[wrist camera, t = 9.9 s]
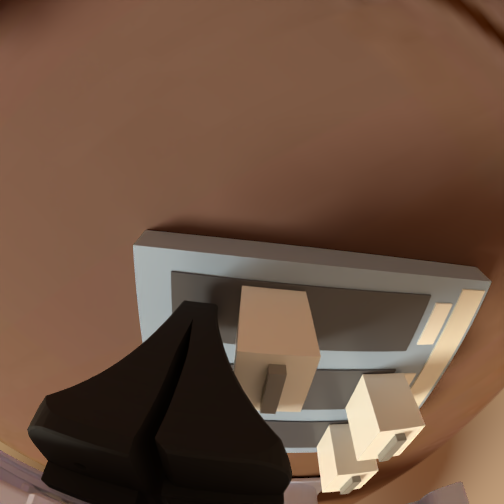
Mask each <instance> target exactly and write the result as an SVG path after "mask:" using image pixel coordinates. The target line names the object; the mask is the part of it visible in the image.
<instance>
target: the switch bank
mask: <svg viewBox="0 0 504 504" xmlns="http://www.w3.org/2000/svg"><path fill="white" fill-rule="evenodd" d="M133 251H134V266H135V279H136V290H137V300H138V310H139V318H140V326H141V334H142V341H143V342H144V341H146V340H147V339H148V338H149V337H150V336H151V335H152V334H153V333H154V332H155V331H156V330H157V329H158V328H159V327H160V326H161V325H162V324H163V323H164V322H165V321H166V320H167V319H168V318H169V317H170V316H171V314H172V313H173V312H174V311H175V310H176V309H177V307H178V306H179V305H180V304H181V303H182V302H183V301H184V300H186V301H194V302H203V303H211V304H216V305H217V306H218V325H219V330H220V335H221V338H222V342H223V345H224V349H225V352H226V354H227V357H228V360H229V362H230V364H231V367H232V369H233V370H234V358H235V346H236V336H237V326H238V317H239V308H240V299H241V290H242V286H252V287H262V288H272V289H283V290H294V291H305V292H306V294H307V298H308V302H309V307H310V311H311V315H312V319H313V324H314V328H315V332H316V337H317V341H318V346H319V350H320V355H321V358H320V361H319V364H318V367H317V369H316V372H315V375H314V378H313V380H312V383H311V386H310V388H309V391H308V394H307V396H306V399H305V402H304V404H303V407H302V409H301V412H278V411H276V414H264V413H260V411H259V410H257V411H258V413H259V414H260V415H261V417H262V418H263V419H264V420H265V422H266V423H267V424H268V425H269V426H270V428H271V429H272V430H273V431H274V432H275V433H276V434H277V435H278V436H279V437H280V439H281V440H282V442H283V445H284V447H285V450H286V452H289V453H298V452H317V445H318V444H319V442H320V440H321V438H322V437H323V435H324V433H325V431H326V429H327V428H328V426H329V425H332V424H349V422H348V418H347V413H346V409H345V407H346V406H347V404H348V402H349V400H350V398H351V396H352V394H353V392H354V390H355V388H356V386H357V384H358V382H359V380H360V378H361V376H362V374H390V373H404V375H405V378H406V380H407V382H408V385H409V387H410V389H411V391H412V394H413V396H414V399H415V401H416V403H417V406H418V408H419V409H420V407H421V406H422V404H423V403H424V402H425V400H426V399H427V397H428V396H429V395H430V393H431V392H432V390H433V389H434V387H435V386H436V384H437V383H438V381H439V380H440V378H441V377H442V375H443V373H444V372H445V370H446V369H447V367H448V365H449V364H450V362H451V360H452V359H453V357H454V355H455V354H456V352H457V350H458V348H459V347H460V345H461V343H462V341H463V340H464V338H465V336H466V334H467V332H468V330H469V328H470V327H471V325H472V323H473V321H474V319H475V317H476V315H477V313H478V311H479V309H480V306H481V304H482V302H483V300H484V298H485V296H486V294H487V291H488V289H489V287H490V284H491V282H492V281H491V280H489V279H488V278H487V277H486V276H485V275H484V274H483V273H482V272H481V271H480V270H479V269H478V268H477V267H472V266H464V265H456V264H448V263H440V262H432V261H424V260H415V259H407V258H399V257H390V256H382V255H374V254H365V253H356V252H348V251H339V250H330V249H322V248H313V247H304V246H295V245H286V244H276V243H267V242H258V241H249V240H239V239H230V238H220V237H211V236H201V235H191V234H181V233H171V232H161V231H151V230H145V231H144V232H143V234H142V235H141V236H140V237H139V238H138V240H137V241H136V242H135V243H134V244H133Z"/></svg>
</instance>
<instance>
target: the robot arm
mask: <svg viewBox="0 0 504 504" xmlns="http://www.w3.org/2000/svg"><path fill="white" fill-rule="evenodd" d="M27 430H28V434H29V437H30V438H31V440H32V442H33V443H34V444H35V445H36V447H37V448H38V449H39V450H40V452H41V453H42V454H43V455H44V456H45V458H46V459H47V460H48V462H47V465H46V467H45V469H44V472H42V471H39V470H37V469H35V468H33V467H31V466H29V465H27V464H25V463H23V462H21V461H19V460H17V459H15V458H13V457H12V456H10V455H8V454H6V453H4V452H3V451H1V450H0V504H63V503H65V504H318V502H317V495H318V494H319V493H320V492H321V491H322V486H321V477H320V478H292V470H291V466H290V462H289V458H288V455H287V453H286V450H285V447H284V445H283V442H282V440H281V439H280V437H279V436H278V435H277V434H276V433H275V432H274V431H273V430H272V429H271V428H270V426H269V425H268V424H267V423H266V422H265V420H264V419H263V418H262V417H261V415H260V414H259V413H258V411H257V410H256V409H255V407H254V406H253V404H252V403H251V401H250V400H249V398H248V397H247V395H246V393H245V392H244V390H243V389H242V387H241V385H240V383H239V381H238V379H237V377H236V375H235V373H234V371H233V369H232V367H231V364H230V362H229V360H228V357H227V354H226V352H225V349H224V345H223V342H222V338H221V335H220V330H219V325H218V306H217V305H216V304H211V303H203V302H194V301H186V300H184V301H183V302H182V303H181V304H180V305H179V306H178V307H177V309H176V310H175V311H174V312H173V313H172V314H171V316H170V317H169V318H168V319H167V320H166V321H165V322H164V323H163V324H162V325H161V326H160V327H159V328H158V329H157V330H156V331H155V332H154V333H153V334H152V335H151V336H150V337H149V338H148V339H147V340H146V341H144V342H143V343H142V344H141V345H140V346H139V347H138V348H136V349H135V350H134V351H133V352H131V353H130V354H129V355H127V356H126V357H125V358H123V359H122V360H121V361H119V362H118V363H116V364H114V365H113V366H111V367H110V368H108V369H107V370H105V371H103V372H102V373H100V374H98V375H96V376H94V377H92V378H90V379H88V380H86V381H84V382H82V383H80V384H77V385H75V386H73V387H70V388H67V389H65V390H62V391H59V392H56V393H53V394H50V395H47V396H46V397H45V398H44V400H43V401H42V403H41V404H40V406H39V408H38V410H37V412H36V414H35V415H34V417H33V419H32V421H31V423H30V425H29V427H28V429H27ZM59 501H61V502H63V503H61V502H59ZM409 504H469V501H468V498H467V495H466V492H465V489H464V486H463V483H462V482H457V483H454V484H451V485H448V486H445V487H442V488H439V489H436V490H434V491H432V492H430V493H428V494H426V495H425V496H424V497H422V498H421V499H420V500H419V501H416V502H413V503H409Z"/></svg>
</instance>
